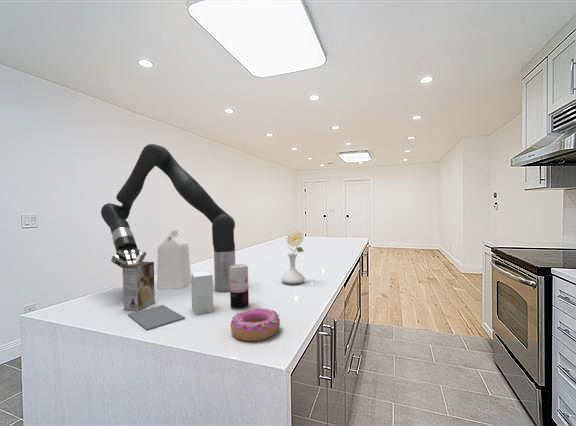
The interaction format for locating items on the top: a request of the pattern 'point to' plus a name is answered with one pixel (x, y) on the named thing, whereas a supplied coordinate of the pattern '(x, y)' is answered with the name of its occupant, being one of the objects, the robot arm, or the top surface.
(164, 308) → the mat
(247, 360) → the top surface
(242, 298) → the beverage can
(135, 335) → the top surface
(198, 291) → the small box
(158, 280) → the milk
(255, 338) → the donut
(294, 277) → the flower in vase
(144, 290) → the coffee box
